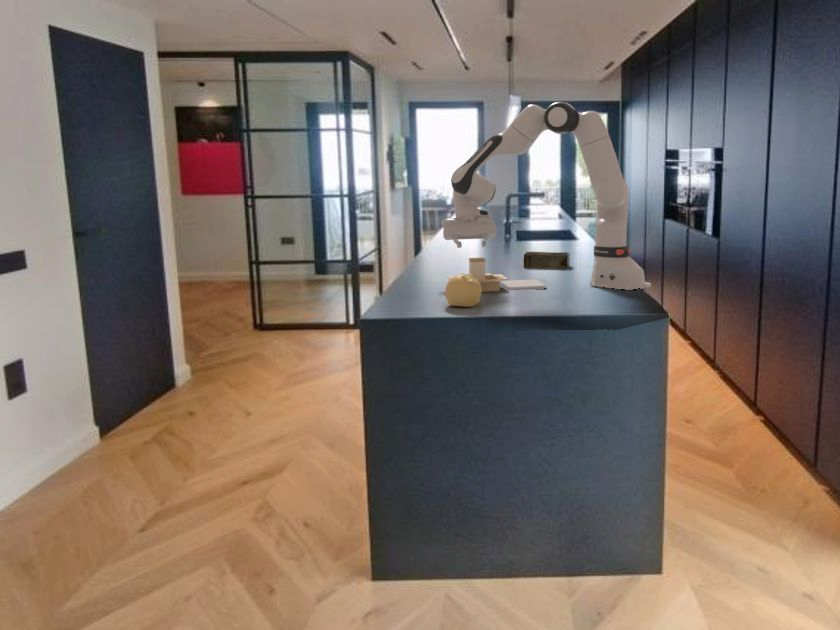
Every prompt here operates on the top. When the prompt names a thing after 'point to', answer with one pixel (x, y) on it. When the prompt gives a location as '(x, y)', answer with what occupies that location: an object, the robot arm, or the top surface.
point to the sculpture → (463, 290)
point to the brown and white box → (477, 268)
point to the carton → (490, 282)
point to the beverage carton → (546, 260)
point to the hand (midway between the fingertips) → (472, 246)
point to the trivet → (523, 284)
